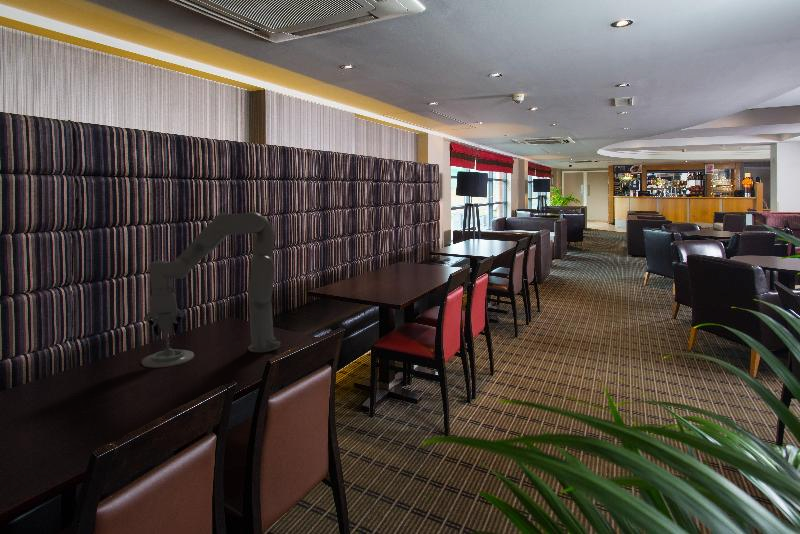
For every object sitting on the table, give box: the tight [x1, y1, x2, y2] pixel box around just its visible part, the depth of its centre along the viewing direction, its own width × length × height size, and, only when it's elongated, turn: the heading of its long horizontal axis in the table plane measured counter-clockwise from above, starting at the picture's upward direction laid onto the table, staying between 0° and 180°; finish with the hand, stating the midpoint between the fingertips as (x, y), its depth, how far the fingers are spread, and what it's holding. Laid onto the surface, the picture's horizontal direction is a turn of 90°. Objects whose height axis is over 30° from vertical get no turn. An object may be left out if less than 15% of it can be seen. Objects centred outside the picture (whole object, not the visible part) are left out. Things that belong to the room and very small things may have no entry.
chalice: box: [157, 313, 175, 356], centre depth 209 cm, size 7×7×18 cm
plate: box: [141, 348, 195, 369], centre depth 211 cm, size 20×20×2 cm
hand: (166, 333), depth 209 cm, fingers closed on chalice, 6 cm apart
